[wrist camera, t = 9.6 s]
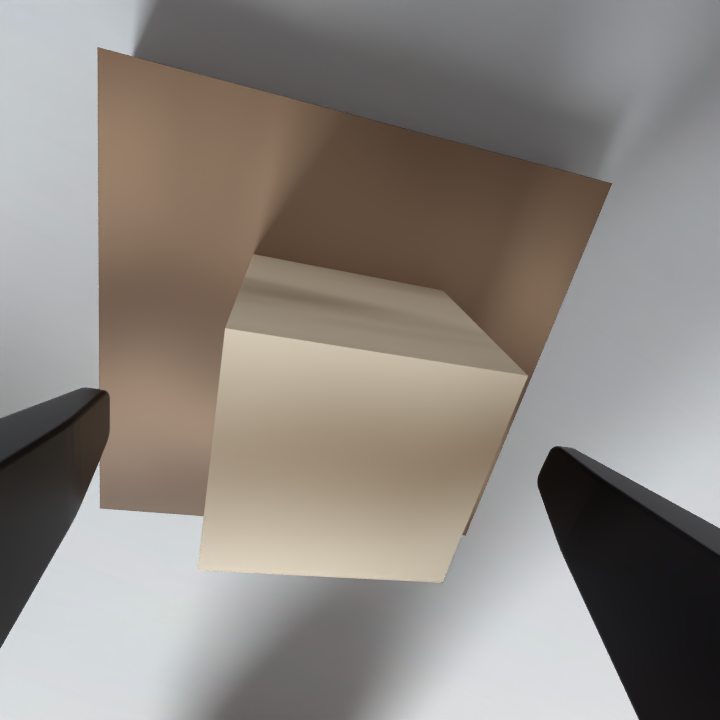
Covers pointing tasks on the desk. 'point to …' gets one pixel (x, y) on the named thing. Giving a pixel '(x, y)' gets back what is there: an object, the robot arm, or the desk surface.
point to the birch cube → (349, 426)
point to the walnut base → (290, 245)
